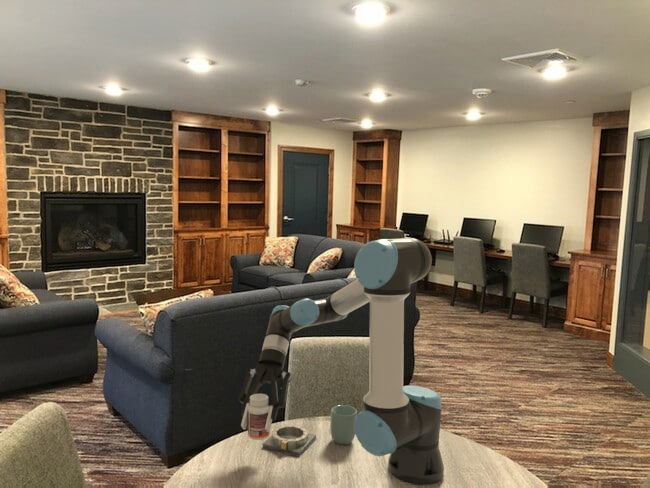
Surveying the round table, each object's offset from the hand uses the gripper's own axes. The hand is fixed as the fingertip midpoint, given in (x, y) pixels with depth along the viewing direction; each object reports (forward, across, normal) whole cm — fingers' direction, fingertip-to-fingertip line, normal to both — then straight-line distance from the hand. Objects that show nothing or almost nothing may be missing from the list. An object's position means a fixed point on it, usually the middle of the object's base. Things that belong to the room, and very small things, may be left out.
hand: (255, 428), depth 149 cm
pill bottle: (0, 0, -5) cm, 5 cm away
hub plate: (-3, -6, -18) cm, 19 cm away
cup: (-7, -21, -22) cm, 31 cm away
